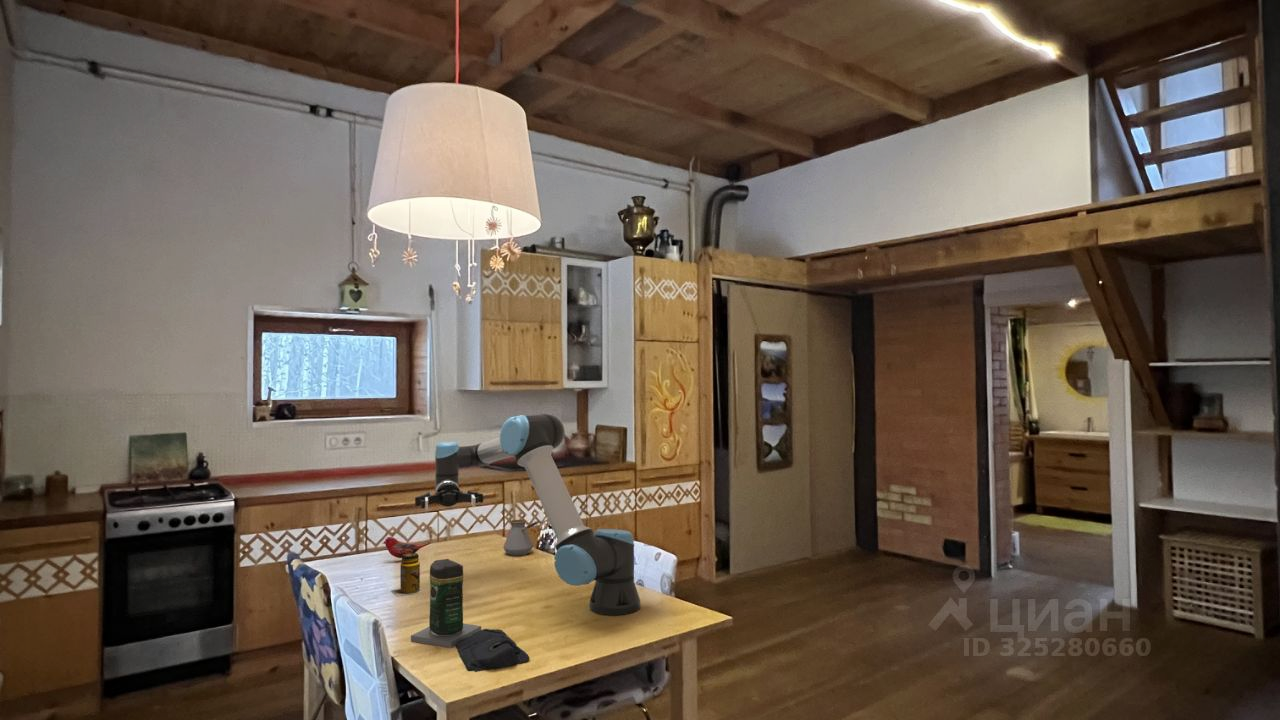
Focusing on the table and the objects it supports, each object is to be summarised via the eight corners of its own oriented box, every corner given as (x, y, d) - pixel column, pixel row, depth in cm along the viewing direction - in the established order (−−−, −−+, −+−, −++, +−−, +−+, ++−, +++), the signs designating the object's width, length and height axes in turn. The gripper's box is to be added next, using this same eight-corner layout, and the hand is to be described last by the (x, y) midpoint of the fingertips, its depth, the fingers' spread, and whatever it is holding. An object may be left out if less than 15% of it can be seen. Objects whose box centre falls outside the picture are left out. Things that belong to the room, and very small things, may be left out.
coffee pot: (498, 553, 289) (497, 515, 290) (523, 548, 297) (523, 511, 297) (526, 563, 273) (526, 523, 273) (552, 558, 280) (552, 519, 281)
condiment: (423, 592, 237) (423, 555, 238) (397, 596, 233) (397, 558, 233) (416, 587, 244) (416, 550, 244) (390, 591, 239) (390, 554, 239)
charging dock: (481, 631, 200) (481, 626, 200) (451, 647, 188) (451, 641, 188) (442, 625, 205) (442, 620, 205) (410, 641, 193) (410, 635, 193)
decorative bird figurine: (382, 563, 275) (381, 536, 275) (430, 558, 282) (430, 532, 283) (382, 565, 272) (382, 538, 273) (431, 559, 280) (431, 533, 280)
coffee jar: (467, 632, 195) (467, 562, 195) (438, 638, 190) (439, 566, 191) (453, 622, 203) (453, 555, 203) (425, 628, 198) (425, 559, 198)
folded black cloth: (509, 636, 197) (509, 618, 197) (532, 665, 177) (532, 645, 177) (451, 645, 191) (451, 627, 191) (468, 676, 171) (468, 656, 171)
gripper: (487, 502, 241) (493, 514, 220) (407, 507, 233) (406, 519, 213) (487, 479, 241) (493, 489, 220) (407, 483, 234) (406, 493, 213)
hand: (450, 504), depth 217 cm, fingers open, 13 cm apart
